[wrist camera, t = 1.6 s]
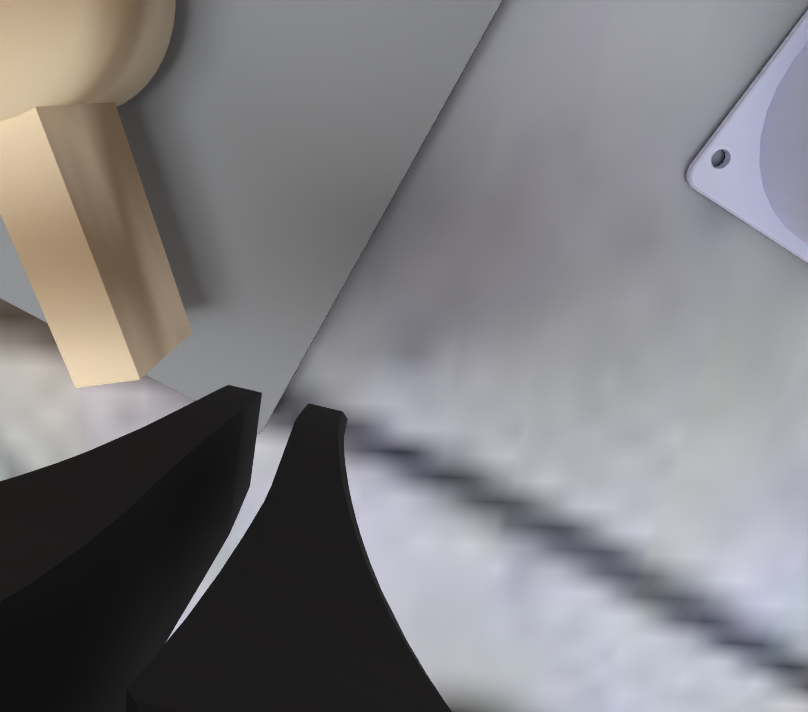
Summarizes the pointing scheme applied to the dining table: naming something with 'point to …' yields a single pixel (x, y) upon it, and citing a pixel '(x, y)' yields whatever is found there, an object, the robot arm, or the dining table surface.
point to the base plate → (277, 166)
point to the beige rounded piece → (86, 180)
